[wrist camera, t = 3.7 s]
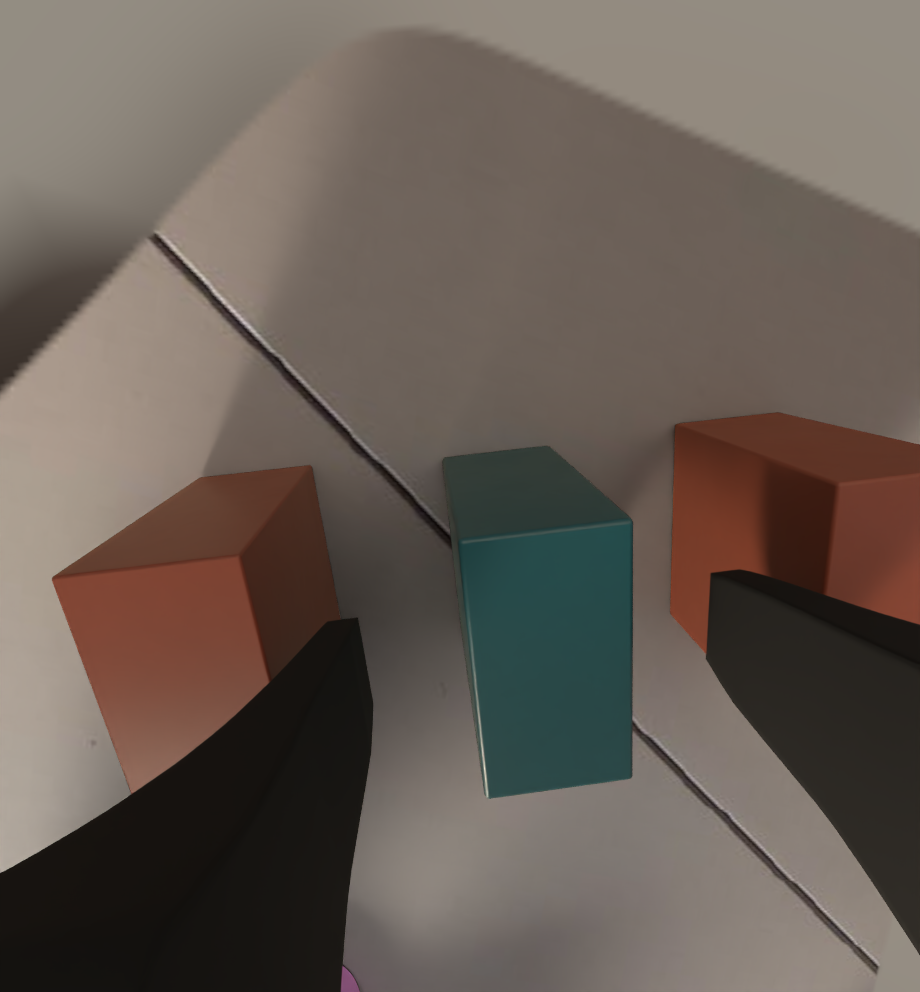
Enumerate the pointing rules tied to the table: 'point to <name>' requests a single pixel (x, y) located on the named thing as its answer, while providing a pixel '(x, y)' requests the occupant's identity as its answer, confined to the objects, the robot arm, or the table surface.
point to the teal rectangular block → (543, 619)
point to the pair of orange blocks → (312, 598)
